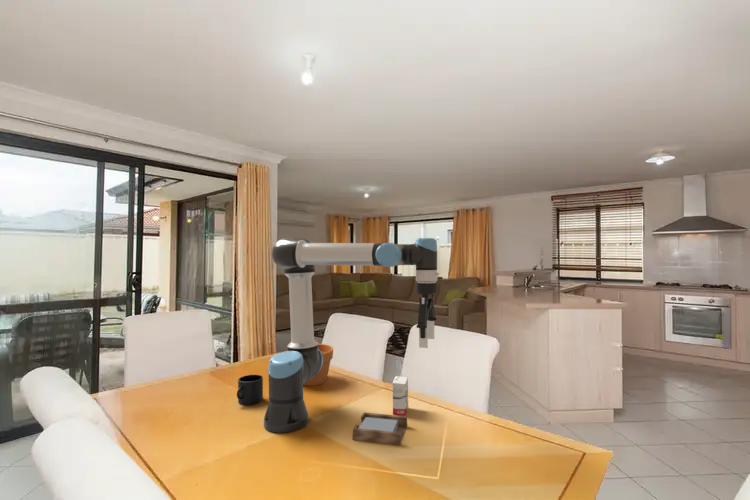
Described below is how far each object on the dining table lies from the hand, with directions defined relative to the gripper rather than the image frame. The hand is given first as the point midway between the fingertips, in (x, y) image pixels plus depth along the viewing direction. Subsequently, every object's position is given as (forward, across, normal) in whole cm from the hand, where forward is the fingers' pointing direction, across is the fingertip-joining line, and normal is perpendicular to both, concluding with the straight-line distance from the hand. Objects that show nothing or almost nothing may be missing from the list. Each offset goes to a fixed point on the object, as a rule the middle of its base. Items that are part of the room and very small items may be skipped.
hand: (427, 343), depth 132 cm
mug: (+28, -4, +72) cm, 77 cm away
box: (+27, -14, +13) cm, 33 cm away
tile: (+26, -15, +13) cm, 33 cm away
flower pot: (+28, +26, +60) cm, 71 cm away
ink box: (+27, +5, +11) cm, 30 cm away
